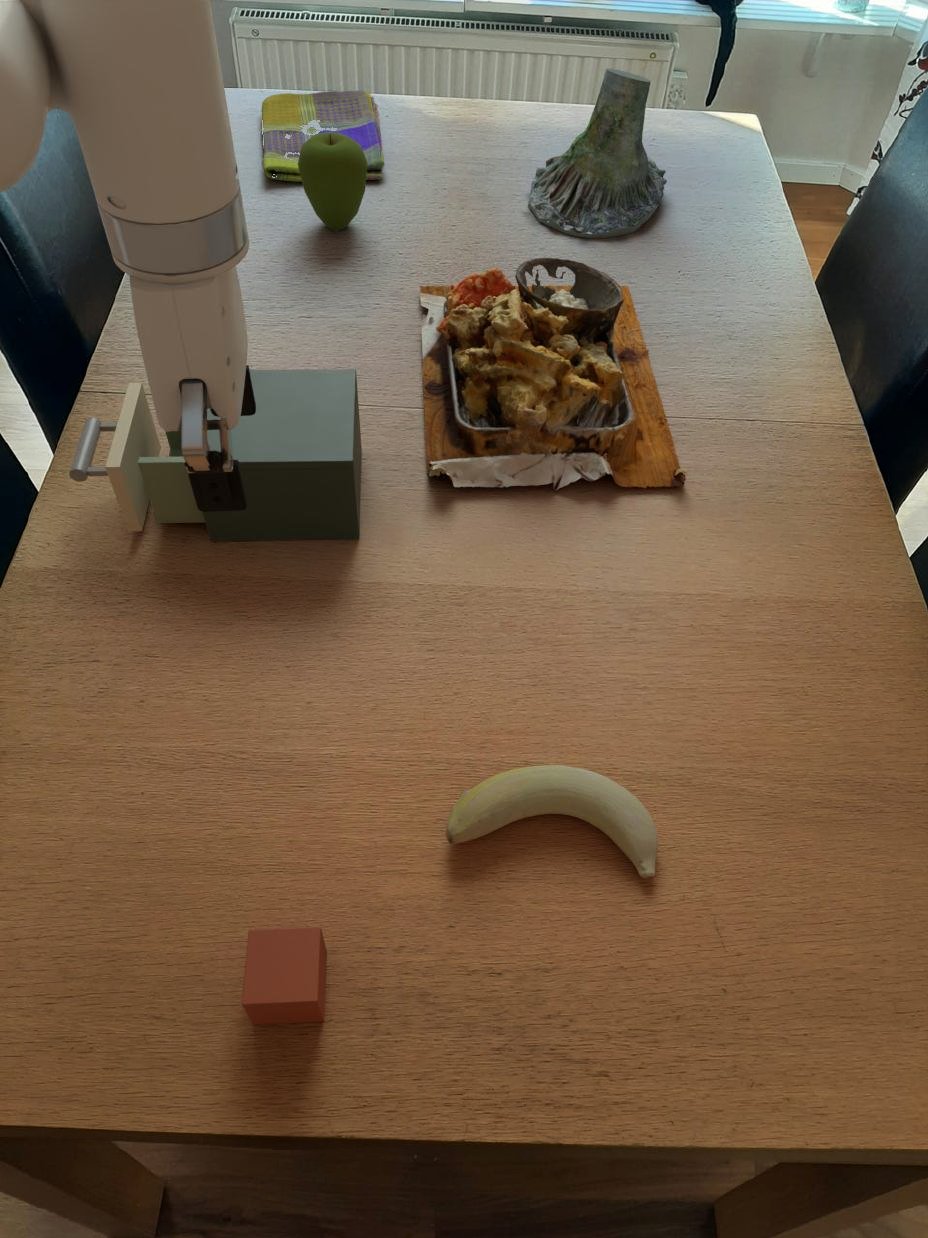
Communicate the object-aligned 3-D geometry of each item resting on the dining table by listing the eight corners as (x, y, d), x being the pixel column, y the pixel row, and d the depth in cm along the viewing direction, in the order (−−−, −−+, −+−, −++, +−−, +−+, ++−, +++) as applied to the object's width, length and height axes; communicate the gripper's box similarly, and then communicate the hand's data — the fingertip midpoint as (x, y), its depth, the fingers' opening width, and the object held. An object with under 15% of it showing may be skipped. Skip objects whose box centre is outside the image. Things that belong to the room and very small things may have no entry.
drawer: (80, 532, 82) (52, 467, 75) (104, 447, 89) (81, 382, 82) (268, 529, 83) (255, 465, 76) (277, 446, 90) (266, 381, 83)
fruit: (458, 764, 69) (459, 742, 67) (655, 792, 68) (664, 771, 66) (443, 851, 65) (444, 832, 62) (653, 883, 64) (663, 864, 61)
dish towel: (259, 185, 124) (256, 164, 121) (262, 107, 138) (260, 88, 136) (387, 182, 125) (386, 162, 123) (377, 106, 140) (376, 86, 138)
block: (252, 1025, 57) (241, 1005, 54) (258, 953, 60) (248, 929, 56) (324, 1021, 57) (317, 1001, 54) (326, 950, 60) (320, 926, 57)
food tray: (418, 291, 109) (418, 204, 101) (627, 291, 110) (643, 205, 102) (427, 494, 87) (427, 405, 79) (686, 490, 89) (713, 403, 80)
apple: (383, 228, 118) (380, 136, 109) (330, 249, 114) (322, 156, 105) (344, 201, 122) (338, 110, 113) (291, 220, 118) (280, 128, 109)
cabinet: (210, 541, 83) (188, 462, 75) (225, 449, 90) (207, 369, 83) (359, 539, 83) (353, 461, 76) (361, 448, 91) (356, 368, 84)
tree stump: (494, 208, 123) (519, 55, 112) (573, 193, 136) (603, 55, 125) (606, 251, 115) (645, 91, 104) (679, 230, 128) (720, 87, 117)
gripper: (129, 149, 55) (187, 382, 68) (76, 314, 44) (158, 552, 57) (255, 149, 55) (288, 380, 69) (233, 312, 45) (277, 548, 58)
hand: (229, 458), depth 63 cm, fingers open, 9 cm apart
